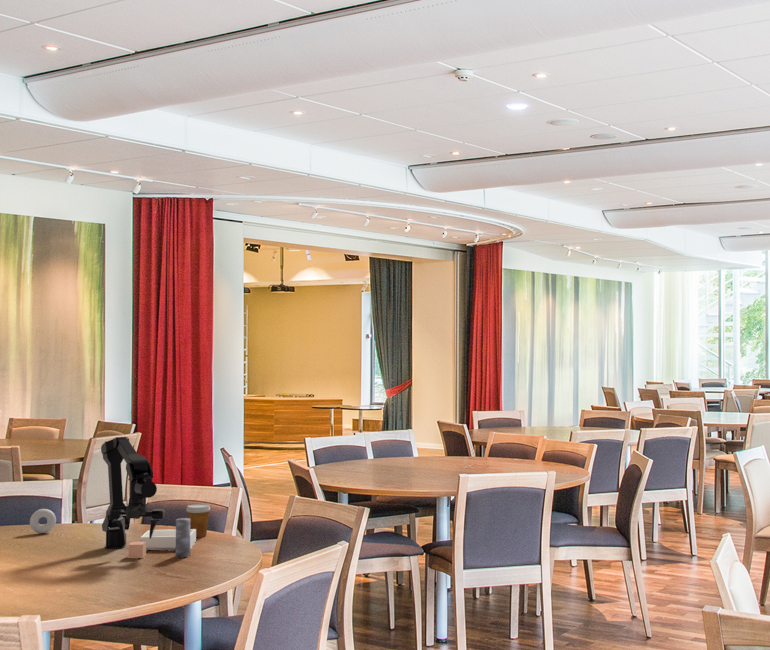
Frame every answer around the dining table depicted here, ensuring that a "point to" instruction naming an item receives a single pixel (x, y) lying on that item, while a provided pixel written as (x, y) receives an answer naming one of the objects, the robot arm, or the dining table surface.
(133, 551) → the terracotta cube
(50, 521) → the donut
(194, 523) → the disposable coffee cup
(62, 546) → the dining table surface
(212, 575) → the dining table surface
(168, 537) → the tote
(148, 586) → the dining table surface
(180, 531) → the slate peg
